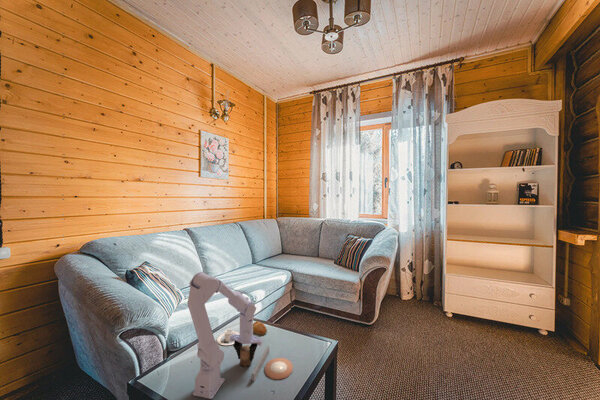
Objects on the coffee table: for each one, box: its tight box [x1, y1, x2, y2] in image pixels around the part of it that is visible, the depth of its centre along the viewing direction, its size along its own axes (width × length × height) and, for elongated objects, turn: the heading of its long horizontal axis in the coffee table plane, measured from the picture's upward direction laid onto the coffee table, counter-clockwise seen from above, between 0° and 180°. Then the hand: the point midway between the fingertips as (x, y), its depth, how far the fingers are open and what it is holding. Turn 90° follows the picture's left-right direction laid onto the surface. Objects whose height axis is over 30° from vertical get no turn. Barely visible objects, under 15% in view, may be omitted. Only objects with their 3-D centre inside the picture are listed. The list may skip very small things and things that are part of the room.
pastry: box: [253, 321, 268, 336], centre depth 133 cm, size 9×7×4 cm
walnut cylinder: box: [239, 344, 253, 367], centre depth 108 cm, size 5×5×6 cm
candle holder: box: [216, 328, 240, 346], centre depth 126 cm, size 12×12×4 cm
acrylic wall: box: [251, 345, 270, 382], centre depth 106 cm, size 18×1×3 cm, turn 168°
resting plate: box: [264, 357, 294, 380], centre depth 105 cm, size 12×12×1 cm
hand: (246, 358), depth 108 cm, fingers closed on walnut cylinder, 5 cm apart
